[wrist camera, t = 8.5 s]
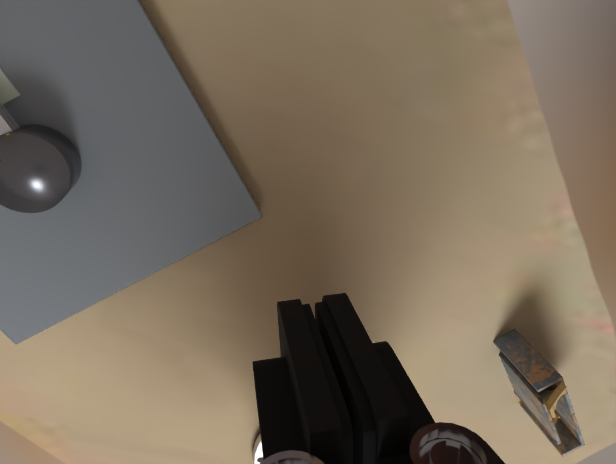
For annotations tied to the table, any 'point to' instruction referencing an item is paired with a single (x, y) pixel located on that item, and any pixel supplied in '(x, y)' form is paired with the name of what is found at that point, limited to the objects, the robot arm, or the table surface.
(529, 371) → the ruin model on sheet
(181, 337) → the table surface
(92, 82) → the dial plate
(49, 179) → the lever
